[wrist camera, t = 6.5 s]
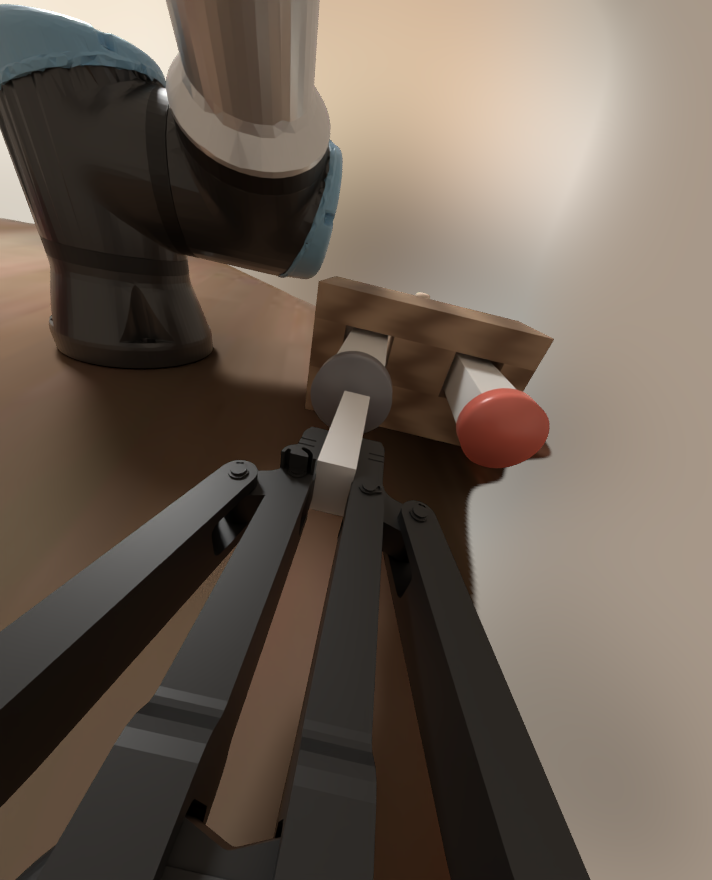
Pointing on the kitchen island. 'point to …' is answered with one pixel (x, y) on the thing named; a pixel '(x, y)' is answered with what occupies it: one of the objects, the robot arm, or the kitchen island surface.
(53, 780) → the kitchen island surface
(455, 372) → the red plug
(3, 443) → the kitchen island surface
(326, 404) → the graphite plug
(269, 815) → the kitchen island surface
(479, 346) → the walnut plug block
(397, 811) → the kitchen island surface
